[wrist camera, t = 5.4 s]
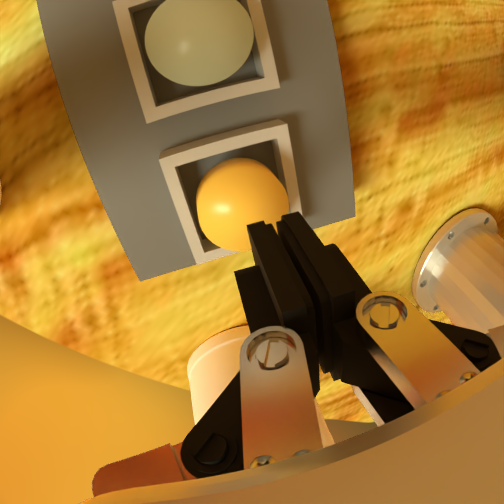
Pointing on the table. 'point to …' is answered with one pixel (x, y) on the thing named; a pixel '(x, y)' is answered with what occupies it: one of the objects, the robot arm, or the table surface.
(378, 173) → the table surface
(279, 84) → the button panel
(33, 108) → the table surface
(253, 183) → the amber button
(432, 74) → the table surface
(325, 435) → the jar
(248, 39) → the sage button
